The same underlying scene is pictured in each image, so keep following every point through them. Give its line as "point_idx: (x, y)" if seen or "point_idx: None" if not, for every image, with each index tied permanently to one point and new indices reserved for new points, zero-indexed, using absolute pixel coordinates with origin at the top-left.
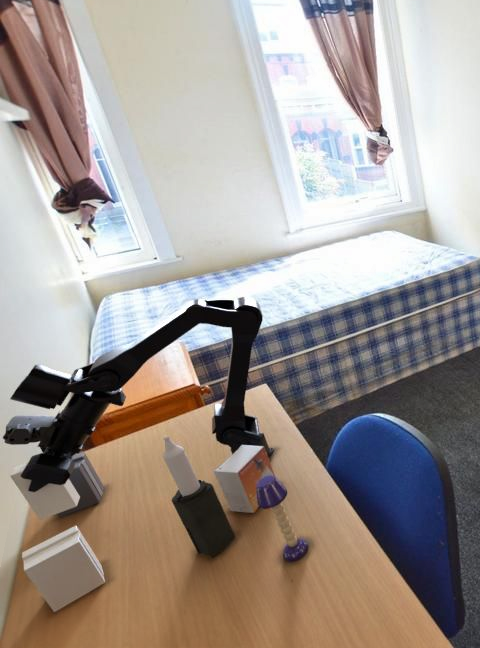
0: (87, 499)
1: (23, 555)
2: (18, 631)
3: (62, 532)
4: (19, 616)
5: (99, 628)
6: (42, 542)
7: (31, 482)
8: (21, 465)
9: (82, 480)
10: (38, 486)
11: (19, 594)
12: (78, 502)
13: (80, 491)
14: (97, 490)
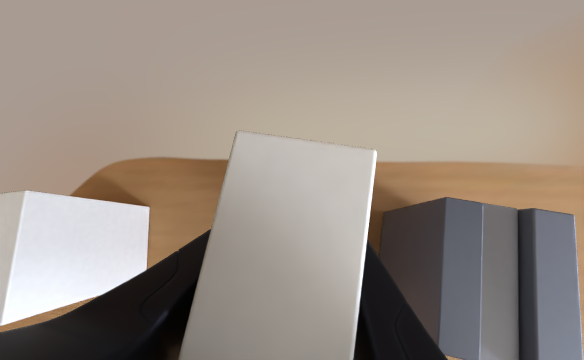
0: None
1: (8, 195)
2: (110, 171)
3: (5, 286)
4: (141, 169)
5: None
6: (17, 235)
7: (208, 232)
8: (351, 192)
9: None
10: None
11: (193, 165)
12: (385, 258)
13: (394, 280)
14: None
